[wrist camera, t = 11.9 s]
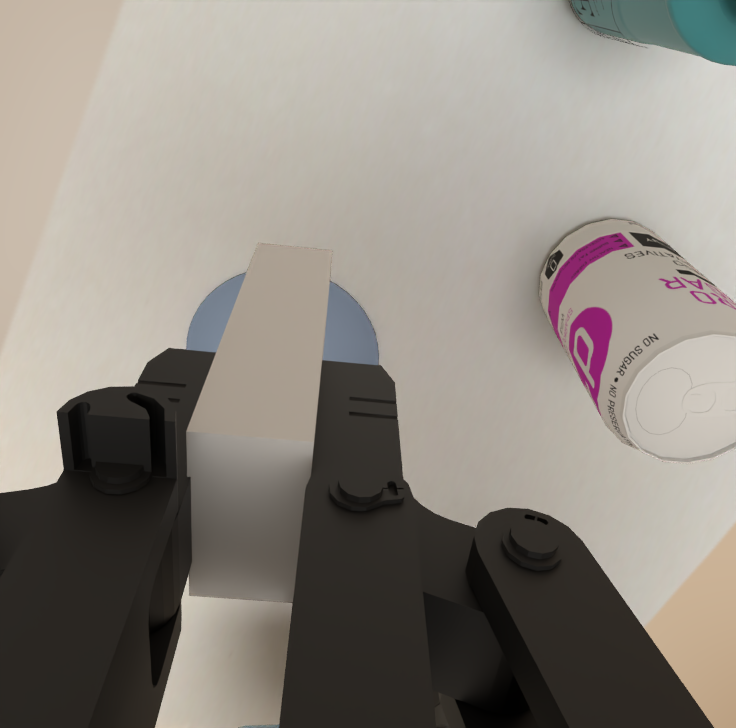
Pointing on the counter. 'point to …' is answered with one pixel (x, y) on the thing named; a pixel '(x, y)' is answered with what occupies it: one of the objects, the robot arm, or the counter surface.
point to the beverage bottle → (667, 24)
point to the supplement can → (646, 339)
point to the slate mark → (342, 333)
